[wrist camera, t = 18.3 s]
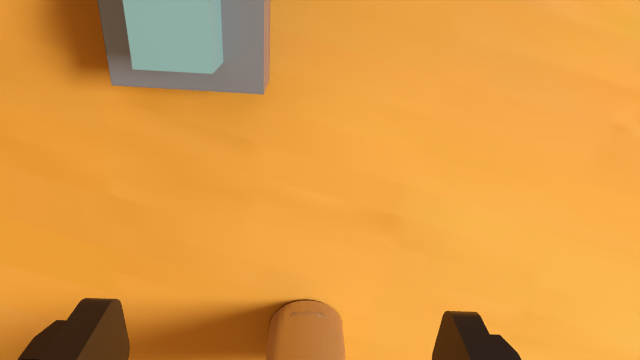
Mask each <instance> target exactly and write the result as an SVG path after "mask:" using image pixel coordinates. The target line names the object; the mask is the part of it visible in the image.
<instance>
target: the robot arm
mask: <svg viewBox="0 0 640 360" xmlns="http://www.w3.org/2000/svg"><path fill="white" fill-rule="evenodd" d="M128 357H129V339H128V334H127V329H126V324H125V319H124V315H123V310H122V305H121V302H120V301H119V300H118V299H99V298H85V299H83V300H81V301H80V302H79V304H78V305H77V306H76V308H75V309H74V311H73V312H72V314H71V315H70V316H69V318H68V319H67V321H65V320H56V321H55V322H53V323H52V324H51V325H50V326H48V327H47V328H46V329H44V330H43V331H42V332H41V333H39V334H38V335H37V336H35V337H34V338H33V340H32V341H31V342H30V343H29V345H28V346H27V347H26V349H25V350H24V351H23V353H22V354H21V355H20V357H19V358H18V360H128ZM266 360H345V348H344V338H343V327H342V321H341V319H340V316H339V315H338V314H337V312H336V311H335V310H334V309H332V308H331V307H330V306H328V305H326V304H324V303H320V302H317V301H309V300H305V301H296V302H292V303H289V304H287V305H285V306H283V307H282V308H280V309H279V310H278V311H277V312H276V313H275V314H274V315H273V317H272V319H271V322H270V327H269V336H268V345H267V352H266ZM432 360H521V358H520V356H519V354H518V353H517V352H516V351H515V350H514V349H513V348H512V347H511V346H510V345H509V344H508V343H507V342H506V341H505V340H504V339H503V338H502V337H501V336H500V335H490V334H489V332H488V330H487V328H486V326H485V324H484V322H483V320H482V318H481V317H480V315H479V314H478V313H477V312H460V311H446V312H445V313H444V314H443V317H442V321H441V324H440V328H439V332H438V335H437V339H436V343H435V346H434V350H433V355H432Z"/></svg>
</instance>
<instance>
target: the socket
mask: <svg viewBox="0 0 640 360" xmlns="http://www.w3.org/2000/svg"><path fill="white" fill-rule="evenodd" d="M98 6H99V12H100V18H101V24H102V30H103V36H104V42H105V48H106V54H107V60H108V66H109V72H110V78H111V84H112V85H116V86H132V87H149V88H166V89H182V90H199V91H216V92H233V93H249V94H264V92H265V89H266V87H267V84H268V81H269V44H270V0H221V22H222V44H223V63H222V64H221V65H220V66H219V68H218V69H217V70H216V71H215V72H214V73H213V74H206V73H188V72H170V71H152V70H135V69H133V68H132V61H131V54H130V47H129V41H128V34H127V27H126V20H125V13H124V6H123V0H98Z"/></svg>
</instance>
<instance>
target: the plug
mask: <svg viewBox="0 0 640 360" xmlns="http://www.w3.org/2000/svg"><path fill="white" fill-rule="evenodd" d="M123 6H124V13H125V20H126V27H127V34H128V41H129V47H130V54H131V61H132V68H133V69H135V70H152V71H170V72H188V73H206V74H213V73H214V72H215V71H216V70H217V69H218V68H219V66H220V65H221V64H222V63H223V44H222V22H221V0H123Z"/></svg>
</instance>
